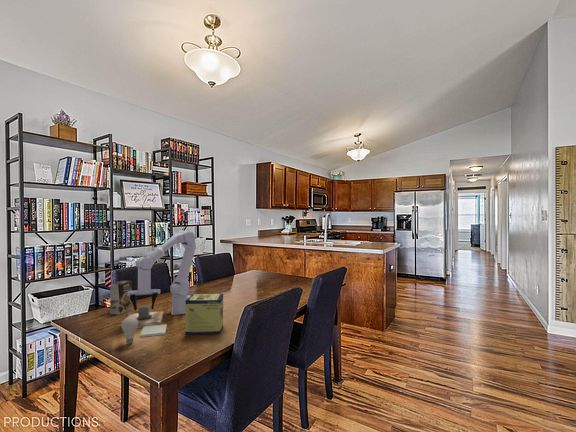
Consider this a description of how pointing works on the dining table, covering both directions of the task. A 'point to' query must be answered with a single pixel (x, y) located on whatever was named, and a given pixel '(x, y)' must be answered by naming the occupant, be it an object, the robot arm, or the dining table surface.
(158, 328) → the pad
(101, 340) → the dining table surface
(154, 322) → the pocket board
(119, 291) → the coffee box
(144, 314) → the peg
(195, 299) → the protein box
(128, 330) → the lightbulb
